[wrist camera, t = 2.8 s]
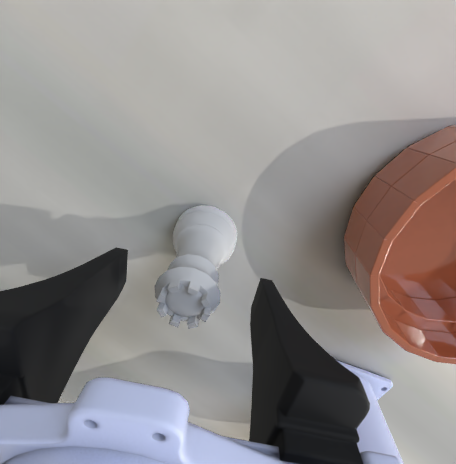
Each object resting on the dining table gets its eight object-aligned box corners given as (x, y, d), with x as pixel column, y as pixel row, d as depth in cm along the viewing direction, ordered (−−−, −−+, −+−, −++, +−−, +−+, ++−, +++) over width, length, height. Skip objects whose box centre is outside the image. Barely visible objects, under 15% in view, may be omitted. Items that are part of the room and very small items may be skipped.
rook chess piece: (250, 228, 19) (251, 304, 12) (213, 268, 21) (195, 356, 14) (199, 189, 18) (168, 248, 11) (164, 235, 20) (118, 311, 13)
